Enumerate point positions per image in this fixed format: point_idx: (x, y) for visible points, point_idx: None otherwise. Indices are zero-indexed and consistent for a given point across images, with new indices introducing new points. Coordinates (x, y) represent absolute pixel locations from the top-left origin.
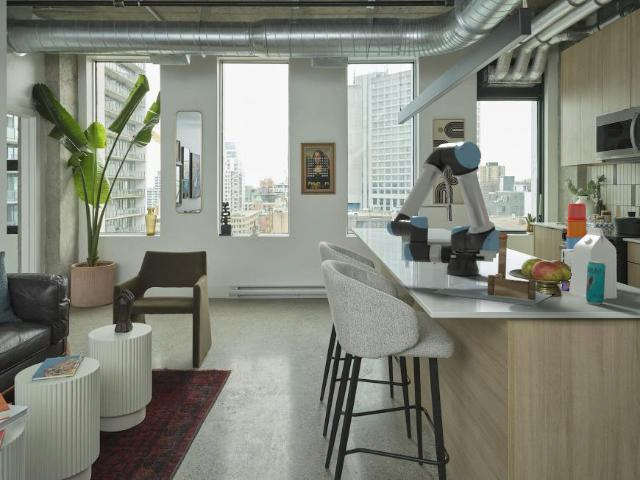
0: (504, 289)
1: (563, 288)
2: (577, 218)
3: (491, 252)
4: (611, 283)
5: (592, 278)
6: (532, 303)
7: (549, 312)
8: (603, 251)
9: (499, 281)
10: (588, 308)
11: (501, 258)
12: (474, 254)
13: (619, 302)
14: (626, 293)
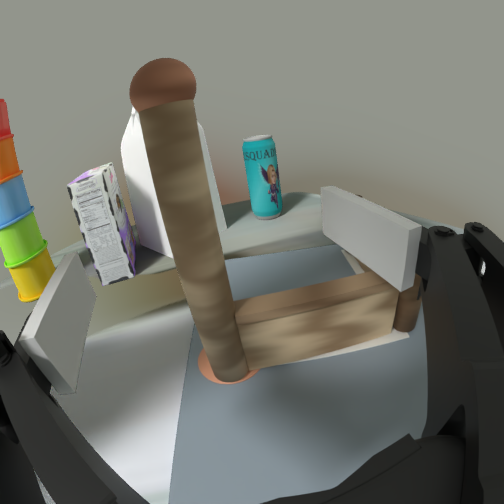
0: None
1: (133, 270)
2: (8, 130)
3: (70, 277)
4: None
5: (277, 166)
6: None
7: (409, 215)
8: None
9: None
10: (321, 208)
11: (217, 228)
12: (443, 227)
13: (229, 210)
14: (134, 228)
